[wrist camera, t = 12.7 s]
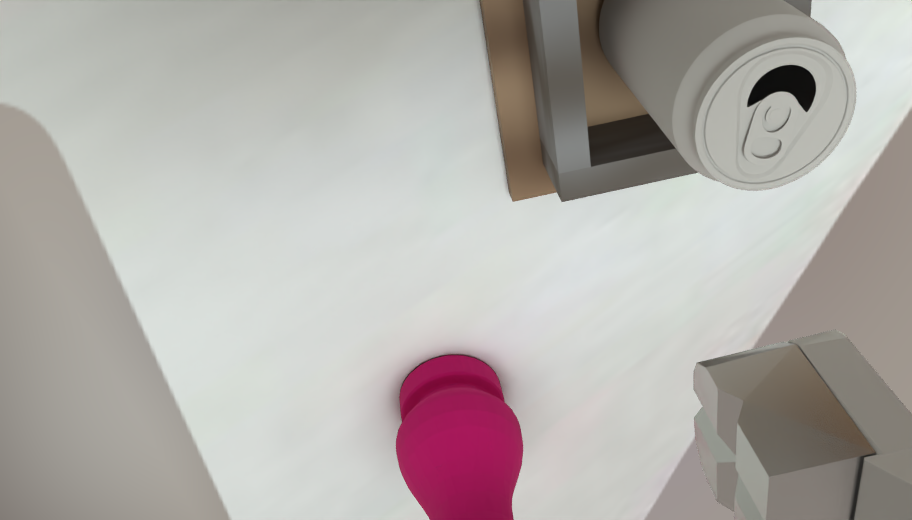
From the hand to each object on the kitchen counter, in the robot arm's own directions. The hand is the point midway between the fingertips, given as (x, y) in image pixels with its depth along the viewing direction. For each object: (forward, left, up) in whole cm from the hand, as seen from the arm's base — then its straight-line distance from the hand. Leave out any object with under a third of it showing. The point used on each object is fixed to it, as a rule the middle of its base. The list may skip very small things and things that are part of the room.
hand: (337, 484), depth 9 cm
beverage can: (+7, +14, -30) cm, 34 cm away
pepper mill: (+28, 0, -31) cm, 42 cm away
